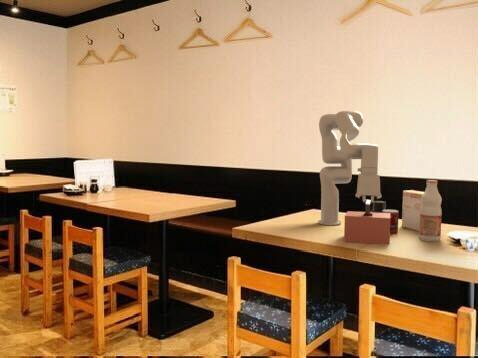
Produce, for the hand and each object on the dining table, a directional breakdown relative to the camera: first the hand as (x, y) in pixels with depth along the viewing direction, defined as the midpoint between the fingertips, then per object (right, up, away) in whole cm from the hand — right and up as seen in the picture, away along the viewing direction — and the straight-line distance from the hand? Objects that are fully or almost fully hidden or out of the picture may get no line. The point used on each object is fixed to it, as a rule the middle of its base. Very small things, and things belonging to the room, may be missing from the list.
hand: (368, 210), depth 226 cm
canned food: (+16, -13, +19) cm, 28 cm away
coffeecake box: (+33, -12, +29) cm, 45 cm away
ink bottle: (+18, -10, +44) cm, 48 cm away
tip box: (0, -14, +1) cm, 14 cm away
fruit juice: (+30, -14, +2) cm, 33 cm away
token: (-1, 0, -3) cm, 3 cm away
